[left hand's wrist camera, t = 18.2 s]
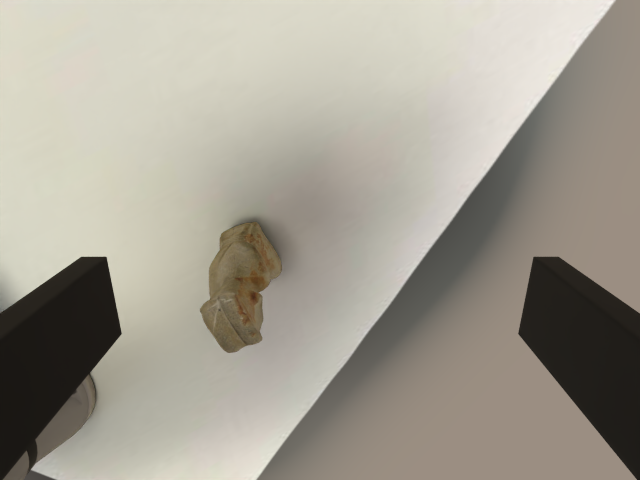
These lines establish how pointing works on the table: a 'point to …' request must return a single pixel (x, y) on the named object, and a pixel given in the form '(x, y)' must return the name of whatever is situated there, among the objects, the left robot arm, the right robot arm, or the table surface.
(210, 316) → the sculpture
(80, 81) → the table surface
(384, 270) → the table surface
